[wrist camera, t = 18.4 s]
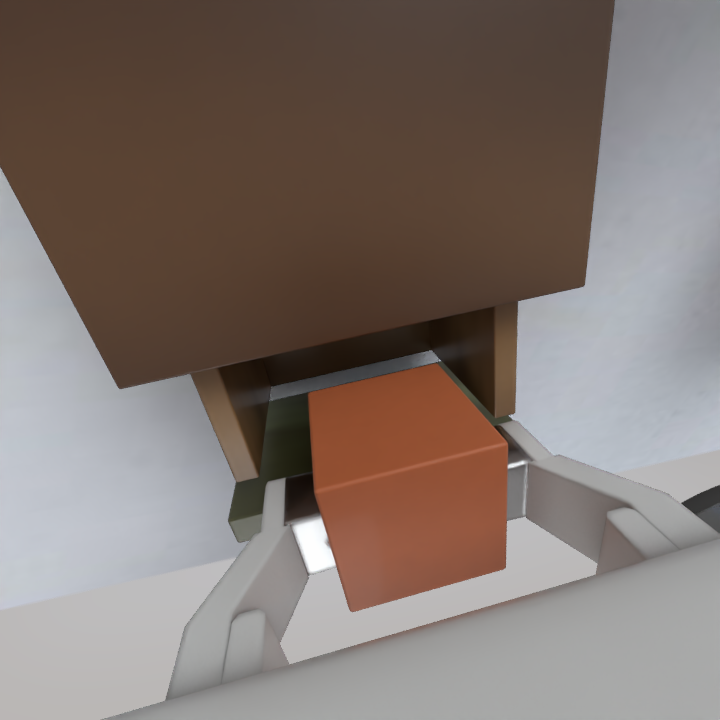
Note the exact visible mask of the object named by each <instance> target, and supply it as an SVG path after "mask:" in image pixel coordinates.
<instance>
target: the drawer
mask: <svg viewBox="0 0 720 720" xmlns="http://www.w3.org/2000/svg"><path fill="white" fill-rule="evenodd" d="M517 316H518V301H516V302H512V303H507V304H503V305H498V306H494V307H489V308H485V309H480V310H476V311H471V312H467V313H462V314H458V315H453V316H449V317H444V318H440V319H435V320H431V321H426V322H422V323H417V324H412V325H408V326H403V327H399V328H394V329H390V330H385V331H381V332H376V333H372V334H367V335H363V336H358V337H354V338H349V339H345V340H340V341H336V342H331V343H327V344H322V345H318V346H313V347H309V348H304V349H300V350H295V351H291V352H286V353H281V354H277V355H272V356H268V357H263V358H259V359H254V360H250V361H245V362H241V363H236V364H232V365H227V366H223V367H218V368H214V369H209V370H205V371H200V372H196V373H191V377H192V379H193V381H194V384H195V386H196V388H197V391H198V393H199V395H200V398H201V400H202V403H203V405H204V407H205V410H206V412H207V414H208V417H209V419H210V421H211V424H212V426H213V428H214V431H215V433H216V436H217V438H218V440H219V443H220V445H221V447H222V450H223V452H224V454H225V457H226V459H227V461H228V464H229V466H230V469H231V471H232V473H233V476H234V478H235V480H236V485H235V490H234V494H233V499H232V504H231V509H230V513H229V518H228V522H229V524H230V526H231V529H232V531H233V533H234V535H235V537H236V539H237V541H238V542H239V543H241V542H244V541H248V540H251V538H252V537H253V536H254V534H256V533H260V532H261V525H262V516H263V506H264V497H265V488H266V484H267V482H268V481H273V480H277V479H281V478H286V477H289V476H293V475H298V474H302V473H307V472H311V471H313V468H312V453H311V437H310V422H309V407H308V393H309V392H307V393H303V394H299V395H294V396H290V397H286V398H281V399H277V400H273V401H269V398H270V391H271V387H272V386H276V385H280V384H285V383H289V382H294V381H298V380H302V379H307V378H311V377H315V376H320V375H324V374H329V373H333V372H337V371H342V370H346V369H350V368H355V367H359V366H364V365H368V364H372V363H377V362H381V361H385V360H390V359H394V358H399V357H403V356H407V355H412V354H416V353H420V352H425V351H429V350H432V351H433V352H434V353H435V354H436V356H437V357H438V358H439V359H440V360H441V362H437V363H436V364H438V365H439V366H440V367H441V368H442V369H443V370H444V371H445V373H446V374H447V375H448V376H449V377H450V378H451V379H452V380H453V382H454V383H455V384H456V385H457V386H458V387H459V388H460V390H461V391H462V392H463V393H464V394H465V395H466V396H467V397H468V399H469V400H470V401H471V402H472V403H473V404H474V405H475V406H476V408H477V409H478V410H479V411H480V412H481V413H482V414H483V415H484V417H485V418H486V419H487V420H488V421H489V422H490V423H491V424H492V426H497V425H498V424H502V423H506V422H509V421H513V420H512V419H511V418H510V417H509V416H508V415H511V414H514V413H515V399H516V358H517ZM432 364H435V363H432ZM428 365H430V364H428ZM424 366H426V365H424ZM419 367H421V366H419ZM415 368H417V367H415ZM411 369H413V368H411ZM406 370H408V369H406ZM402 371H404V370H402ZM398 372H400V371H398ZM393 373H395V372H393ZM389 374H391V373H389ZM385 375H387V374H385ZM381 376H382V375H381ZM376 377H378V376H376ZM372 378H374V377H372ZM368 379H369V378H368ZM363 380H365V379H363ZM359 381H360V380H359ZM355 382H356V381H355ZM350 383H352V382H350ZM346 384H347V383H346ZM342 385H343V384H342ZM337 386H339V385H337ZM333 387H334V386H333ZM329 388H330V387H329ZM324 389H326V388H324ZM320 390H321V389H320ZM316 391H317V390H316ZM311 392H313V391H311Z"/></svg>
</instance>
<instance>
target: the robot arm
mask: <svg viewBox="0 0 720 720" xmlns="http://www.w3.org/2000/svg"><path fill="white" fill-rule="evenodd" d="M493 427H494V428H495V429H496V430H497V431H498V432H499V433H500V435H501V436H502V437H503V438H504V439H505V440H506V441H507V443H508V477H507V521H508V520H513V519H517V518H521V517H525V516H526V518H527V519H529V520H530V521H532V522H533V523H535V524H536V525H538V526H540V527H541V528H543V529H545V530H546V531H548V532H549V533H551V534H552V535H554V536H556V537H557V538H559V539H560V540H562V541H563V542H565V543H567V544H568V545H570V546H571V547H573V548H574V549H576V550H578V551H579V552H581V553H582V554H584V555H585V556H587V557H589V558H590V559H592V560H593V561H595V562H596V563H598V565H597V571H596V575H593V576H590V577H587V578H583V579H580V580H577V581H573V582H570V583H566V584H563V585H559V586H556V587H553V588H549V589H546V590H543V591H539V592H536V593H532V594H529V595H525V596H522V597H519V598H515V599H512V600H508V601H505V602H502V603H498V604H495V605H492V606H488V607H485V608H481V609H478V610H474V611H471V612H467V613H464V614H461V615H457V616H454V617H451V618H447V619H444V620H440V621H437V622H433V623H430V624H426V625H423V626H420V627H416V628H413V629H410V630H406V631H403V632H399V633H396V634H392V635H389V636H386V637H382V638H379V639H375V640H372V641H368V642H365V643H362V644H358V645H355V646H351V647H348V648H344V649H341V650H338V651H335V652H331V653H327V654H324V655H321V656H317V657H314V658H310V659H307V660H303V661H300V662H297V663H293V664H290V665H289V662H288V660H287V658H286V656H285V654H284V652H283V650H282V648H281V645H280V642H281V640H282V637H283V635H284V633H285V631H286V628H287V626H288V624H289V621H290V619H291V617H292V615H293V612H294V610H295V608H296V605H297V603H298V601H299V599H300V597H301V594H302V592H303V590H304V587H305V585H306V583H307V580H308V579H309V577H308V576H309V575H312V574H316V573H319V572H322V571H325V570H329V569H332V568H335V567H336V564H335V560H334V557H333V554H332V550H331V547H330V544H329V540H328V537H327V534H326V530H325V527H324V524H323V520H322V517H321V514H320V510H319V507H318V504H317V500H316V497H315V494H314V483H313V471H311V472H307V473H302V474H298V475H293V476H289V477H286V478H281V479H277V480H273V481H268V482H267V484H266V488H265V497H264V506H263V516H262V525H261V532H260V533H256V534H254V536H253V537H252V538H251V540H250V541H249V542H248V544H247V545H246V546H245V548H244V549H243V550H242V552H241V553H240V554H239V556H238V557H237V558H236V560H235V561H234V562H233V564H232V565H231V566H230V568H229V569H228V570H227V572H226V573H225V574H224V576H223V577H222V578H221V580H220V581H219V582H218V583H217V585H216V586H215V587H214V589H213V590H212V591H211V593H210V594H209V596H208V597H207V598H206V599H205V601H204V602H203V604H202V605H201V606H200V607H199V609H198V610H197V611H196V613H195V614H194V615H193V617H192V618H191V619H190V621H189V622H188V623H187V625H186V626H185V628H184V632H183V636H182V639H181V643H180V647H179V651H178V655H177V658H176V662H175V666H174V670H173V673H172V677H171V681H170V685H169V689H168V692H167V696H166V700H165V701H163V702H160V703H157V704H153V705H150V706H146V707H143V708H139V709H136V710H133V711H130V712H126V713H123V714H119V715H116V716H112V717H109V718H105V719H102V720H720V534H719V533H718V532H717V531H715V530H714V529H713V528H711V527H710V526H709V525H708V524H706V523H705V522H704V521H702V520H701V519H700V518H699V517H697V516H696V515H695V514H694V513H692V512H691V511H690V510H688V509H687V508H686V507H685V506H683V505H682V504H681V503H679V502H678V501H677V500H675V499H674V498H673V497H672V496H670V495H669V494H667V493H665V492H662V491H659V490H656V489H654V488H651V487H648V486H645V485H643V484H640V483H637V482H634V481H631V480H628V479H626V478H623V477H620V476H617V475H615V474H612V473H609V472H606V471H603V470H601V469H598V468H595V467H592V466H589V465H587V464H584V463H581V462H578V461H575V460H573V459H570V458H567V457H564V456H561V455H556V456H553V455H552V454H551V453H550V452H549V451H548V450H547V449H546V448H545V447H544V446H543V445H542V444H541V443H540V442H539V441H538V440H537V439H536V438H535V437H534V436H533V435H532V434H530V433H529V432H528V431H527V430H526V429H525V428H524V427H523V426H522V425H521V424H520V423H519V422H518V421H515V420H513V421H509V422H506V423H502V424H498V425H497V426H493Z"/></svg>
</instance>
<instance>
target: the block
mask: <svg viewBox="0 0 720 720" xmlns="http://www.w3.org/2000/svg"><path fill="white" fill-rule="evenodd" d="M308 407H309V422H310V437H311V453H312V468H313V483H314V494H315V497H316V500H317V504H318V507H319V510H320V514H321V517H322V520H323V524H324V527H325V530H326V534H327V537H328V540H329V544H330V547H331V550H332V554H333V557H334V560H335V564H336V567H337V570H338V574H339V577H340V580H341V584H342V587H343V590H344V594H345V597H346V600H347V604H348V607H349V609H350V611H351V612H355V611H359V610H362V609H366V608H369V607H373V606H376V605H380V604H383V603H387V602H390V601H394V600H397V599H401V598H404V597H408V596H411V595H415V594H418V593H422V592H425V591H429V590H432V589H436V588H440V587H443V586H446V585H450V584H453V583H457V582H461V581H464V580H468V579H471V578H475V577H478V576H482V575H485V574H489V573H492V572H495V571H499V570H503V569H504V568H506V531H507V529H506V528H507V477H508V443H507V441H506V440H505V439H504V438H503V437H502V436H501V435H500V433H499V432H498V431H497V430H496V429H495V428H494V427H493V426H492V424H491V423H490V422H489V421H488V420H487V419H486V418H485V417H484V415H483V414H482V413H481V412H480V411H479V410H478V409H477V408H476V406H475V405H474V404H473V403H472V402H471V401H470V400H469V399H468V397H467V396H466V395H465V394H464V393H463V392H462V391H461V390H460V388H459V387H458V386H457V385H456V384H455V383H454V382H453V380H452V379H451V378H450V377H449V376H448V375H447V374H446V373H445V371H444V370H443V369H442V368H441V367H440V366H439V365H438V364H436V363H435V364H430V365H426V366H421V367H417V368H413V369H408V370H404V371H400V372H395V373H391V374H387V375H382V376H378V377H374V378H369V379H365V380H360V381H356V382H352V383H347V384H343V385H339V386H334V387H330V388H326V389H321V390H317V391H313V392H309V393H308Z"/></svg>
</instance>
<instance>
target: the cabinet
mask: <svg viewBox="0 0 720 720" xmlns="http://www.w3.org/2000/svg"><path fill="white" fill-rule="evenodd" d="M614 3H615V0H0V167H1V169H2V171H3V173H4V174H5V176H6V178H7V180H8V182H9V184H10V186H11V188H12V189H13V191H14V193H15V195H16V197H17V199H18V201H19V203H20V204H21V206H22V208H23V210H24V212H25V214H26V216H27V218H28V219H29V221H30V223H31V225H32V227H33V229H34V231H35V233H36V234H37V236H38V238H39V240H40V242H41V244H42V246H43V248H44V249H45V251H46V253H47V255H48V257H49V259H50V261H51V263H52V264H53V266H54V268H55V270H56V272H57V274H58V276H59V278H60V279H61V281H62V283H63V285H64V287H65V289H66V291H67V293H68V294H69V296H70V298H71V300H72V302H73V304H74V306H75V308H76V309H77V311H78V313H79V315H80V317H81V319H82V321H83V323H84V324H85V326H86V328H87V330H88V332H89V334H90V336H91V338H92V339H93V341H94V343H95V345H96V347H97V349H98V351H99V353H100V354H101V356H102V358H103V360H104V362H105V364H106V366H107V368H108V369H109V371H110V373H111V375H112V377H113V379H114V381H115V383H116V384H117V386H118V388H119V389H123V388H128V387H132V386H137V385H141V384H146V383H150V382H155V381H159V380H164V379H169V378H173V377H178V376H182V375H187V374H191V373H196V372H200V371H205V370H209V369H214V368H218V367H223V366H227V365H232V364H236V363H241V362H245V361H250V360H254V359H259V358H263V357H268V356H272V355H277V354H281V353H286V352H291V351H295V350H300V349H304V348H309V347H313V346H318V345H322V344H327V343H331V342H336V341H340V340H345V339H349V338H354V337H358V336H363V335H367V334H372V333H376V332H381V331H385V330H390V329H394V328H399V327H403V326H408V325H412V324H417V323H422V322H426V321H431V320H435V319H440V318H444V317H449V316H453V315H458V314H462V313H467V312H471V311H476V310H480V309H485V308H489V307H494V306H498V305H503V304H507V303H512V302H516V301H521V300H525V299H530V298H534V297H539V296H543V295H548V294H553V293H557V292H562V291H566V290H571V289H575V288H580V287H583V286H584V285H585V278H586V268H587V259H588V249H589V240H590V230H591V221H592V211H593V202H594V192H595V183H596V173H597V164H598V155H599V145H600V136H601V126H602V117H603V107H604V98H605V88H606V79H607V69H608V60H609V50H610V41H611V31H612V22H613V12H614Z"/></svg>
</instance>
